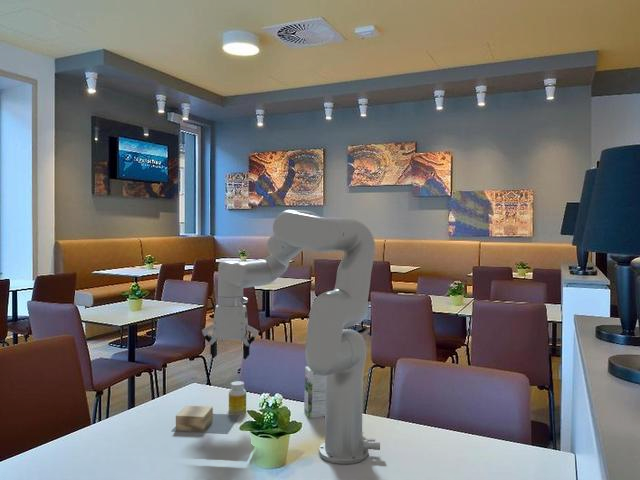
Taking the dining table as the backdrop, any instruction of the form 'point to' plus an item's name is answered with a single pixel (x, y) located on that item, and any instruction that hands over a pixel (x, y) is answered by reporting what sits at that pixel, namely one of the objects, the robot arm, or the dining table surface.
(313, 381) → the syrup box
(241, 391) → the supplement bottle
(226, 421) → the mat
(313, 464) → the dining table surface
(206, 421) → the oak block
